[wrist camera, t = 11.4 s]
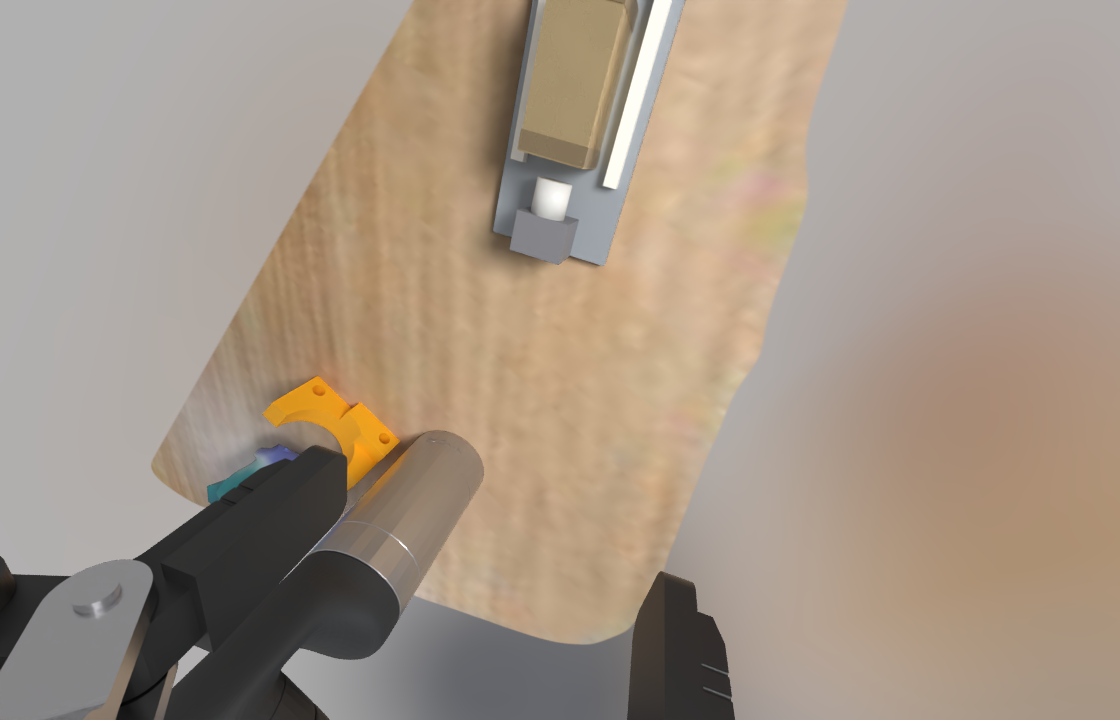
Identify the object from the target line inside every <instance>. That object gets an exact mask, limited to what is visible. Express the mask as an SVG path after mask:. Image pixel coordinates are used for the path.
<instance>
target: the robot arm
mask: <svg viewBox="0 0 1120 720" xmlns="http://www.w3.org/2000/svg"><path fill="white" fill-rule="evenodd" d="M483 476H484V467H483V463H482V460H481V458H480V456H479V454H478V453H477V452H476V450H475V449H474V448H473V447H472V446H471V445H470V444H469V443H468V442H467V441H466V440H464V439H463V438H461V437H459V436H457V435H455V434H453V433H450V432H446V431H438V430H437V431H429V432H427V433H424V434H422V435H421V436H420V437H418V438H417V440H416V441H415V442H414V443H413V444H412V445H411V446H410V447H409V448H408V449H407V450H406V451H405V452H404V453H403V454H402V455H401V456H400V457H399V458H398V459H397V460H396V462H395V463H394V464H393V465H392V466H391V467H390V468H389V469H388V470H387V471H386V472H385V473H384V474H383V475H382V476H381V477H380V479H379V480H378V481H377V482H376V483H375V484H374V485H373V486H372V487H371V488H370V489H369V490H368V491H367V492H366V493H365V494H364V495H363V497H362V498H361V499H360V500H359V501H358V502H357V503H356V504H355V505H354V506H353V507H352V508H351V509H350V510H349V511H348V512H347V514H346V515H345V516H344V517H343V518H342V519H341V520H340V521H339V522H338V523H337V524H336V525H335V526H334V527H333V525H334V524H335V523H336V522H337V521H338V519H339V518H340V516H341V514H342V513H343V510H344V508H345V505H346V502H347V457H346V456H345V455H343V454H340V453H337V452H335V451H332V450H329V449H326V448H324V447H321V446H318V445H315V446H312V447H310V448H308V449H307V450H305V451H304V452H303V453H302V454H300V455H299V456H298V457H296V458H295V459H294V460H289V459H286V458H285V459H282V460H280V461H277V462H275V463H272V464H270V465H267V466H265V467H262V468H260V469H259V470H257V471H256V472H254V473H253V474H252V475H250V476H249V477H248V478H246V479H245V480H243V481H242V482H241V483H239V485H238V487H236V488H235V487H234V488H232V489H231V490H230V491H228V492H227V493H226V494H224V495H223V496H221V498H220V500H219V501H215V502H213V503H212V504H210V505H209V506H208V507H206V508H205V509H204V510H202V511H201V512H199V513H198V514H197V515H195V516H194V517H193V518H191V519H190V520H189V521H187V522H186V523H185V524H183V525H182V526H180V527H179V528H178V529H176V530H175V531H173V532H172V533H171V534H169V535H168V536H167V537H165V538H164V539H163V540H161V541H160V542H158V543H157V544H156V545H154V546H153V547H151V548H150V549H149V550H147V551H146V552H144V553H143V554H142V555H140V556H138V557H136V558H135V559H133V560H115V561H109V562H105V563H101V564H98V565H95V566H92V567H90V568H87V569H85V570H83V571H81V572H79V573H76V574H75V575H73V576H46V575H16V574H11V572H10V570H9V568H8V567H7V565H6V563H5V561H4V559H3V558H2V557H1V556H0V720H329V718H328V717H327V716H326V715H325V714H324V713H323V712H322V711H321V710H320V709H319V708H318V707H317V706H316V705H315V704H314V703H313V702H312V701H311V700H310V699H309V698H308V697H307V696H306V695H305V694H304V693H303V692H302V691H301V690H300V689H299V688H298V687H297V686H296V685H295V684H294V683H293V682H292V681H291V680H290V679H289V678H288V677H287V676H286V675H285V674H284V673H282V671H281V669H282V667H283V666H284V664H285V663H286V662H287V661H288V660H289V659H290V657H291V656H292V655H293V654H294V653H295V652H296V651H297V650H298V649H299V648H303V649H307V650H311V651H314V652H317V653H320V654H323V655H326V656H330V657H333V658H338V659H348V660H353V659H362V658H365V657H368V656H371V655H372V654H374V653H375V652H376V651H377V650H378V649H380V647H381V646H382V645H383V644H384V642H385V641H386V639H387V638H388V636H389V635H390V633H391V631H392V629H393V628H394V626H395V625H396V623H397V621H398V619H399V618H400V616H401V615H402V613H403V611H404V610H405V608H406V606H407V605H408V603H409V601H410V600H411V598H412V596H413V595H414V593H415V592H416V590H417V588H418V586H419V585H420V583H421V581H422V580H423V578H424V576H425V575H426V573H427V571H428V570H429V568H430V566H431V565H432V563H433V561H434V560H435V558H436V557H437V555H438V553H439V552H440V550H441V548H442V547H443V545H444V543H445V542H446V540H447V538H448V537H449V535H450V533H451V532H452V530H453V529H454V527H455V525H456V524H457V522H458V520H459V519H460V517H461V515H462V514H463V512H464V510H465V509H466V507H467V506H468V504H469V502H470V501H471V499H472V497H473V496H474V494H475V492H476V491H477V489H478V487H479V486H480V484H481V482H482V480H483ZM332 527H333V528H332ZM331 528H332V529H331ZM330 529H331V531H330V532H329V533H328V534H327V535H326V536H325V537H324V538H323V539H322V540H321V541H320V542H319V543H318V541H319V540H320V539H321V538H322V537H323V536H324V535H325V534H326V533H327V532H328V531H329V530H330ZM317 543H318V544H317ZM316 544H317V546H316V547H315V548H314V549H313V550H312V551H311V552H310V553H309V554H308V555H307V556H306V557H305V558H304V559H303V560H302V558H303V557H304V556H305V555H306V554H307V553H308V552H309V551H310V550H311V549H312V548H313V547H314V546H315V545H316ZM301 560H302V561H301ZM300 561H301V563H299V562H300ZM298 563H299V565H298V566H297V567H296V568H295V569H294V570H293V571H292V572H291V573H290V574H289V575H288V576H287V577H286V578H285V579H284V577H285V576H286V575H287V574H288V573H289V572H290V571H291V570H292V569H293V568H294V567H295V566H296V565H297V564H298ZM283 579H284V580H283ZM194 645H195V646H197V647H200V648H202V649H204V650H206V651H209V652H210V653H209V654H208V655H207V656H206V657H205V658H204V659H203V660H201V662H199V663H198V664H197V665H196V666H195V667H194V668H193V669H192V670H191V671H190V672H189V673H188V674H187V675H186V676H185V677H184V678H183V679H182V680H181V681H180V682H178V683H177V684H176V685H175V686H174V687H173V683H174V680H175V676H176V673H177V669H178V661H179V660H180V659H181V658H182V657H183V656H184V655H185V654H186V653H187V651H189V650H190V649H191V648H192V646H194ZM728 673H729V672H728V663H727V657H726V648H725V643H724V641H723V639H722V637H721V634H720V632H719V630H718V628H717V626H716V624H715V621H714V619H713V617H711V616H708V615H705V614H703V613H700V612H697V600H696V589H695V585H694V583H692V582H690V581H687V580H685V579H682V578H679V577H676V576H673V575H670V574H668V573H665V572H662V571H660V572H659V573H658V575H657V577H656V579H655V581H654V583H653V585H652V587H651V589H650V590H649V592H648V594H647V596H646V598H645V600H644V602H643V604H642V606H641V608H640V610H639V613H638V615H637V619H636V622H635V627H634V632H633V641H632V657H631V671H630V686H629V702H628V716H627V720H735V717H734V709H733V703H732V702H731V697H732V694H731V686H730V679H729V678H728ZM172 687H173V688H172Z"/></svg>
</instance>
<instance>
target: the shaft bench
mask: <svg viewBox="0 0 1120 720" xmlns="http://www.w3.org/2000/svg"><path fill="white" fill-rule="evenodd" d="M545 3H546V0H533V2H532V8H531V14H530V20H529V25H528V31H527V37H526V43H525V49H524V54H523V60H522V66H521V72H520V77H519V83H518V89H517V95H516V101H515V106H514V112H513V118H512V124H511V130H510V135H509V141H508V147H507V153H506V158H505V164H504V170H503V176H502V182H501V187H500V193H499V199H498V205H497V211H496V216H495V222H494V228H493V232H496V233H499V234H503V235H506V236H509V237H512V239H511V245H510V250H513V251H516V252H519V253H522V254H525V255H528V256H531V257H535V258H538V259H541V260H544V261H547V262H550V263H554V264H557V265H559V264H560V263H562V262H563V261H564V260H565V259H566V258H567V257H569V256H573V257H576V258H579V259H582V260H586V261H589V262H592V263H595V264H598V265H601V266H604V265H605V263H606V260H607V257H608V253H609V250H610V247H611V244H612V240H613V237H614V234H615V230H616V227H617V224H618V221H619V217H620V214H621V211H622V207H623V204H624V201H625V197H626V194H627V191H628V188H629V184H630V181H631V178H632V174H633V171H634V168H635V165H636V161H637V158H638V155H639V151H640V148H641V145H642V142H643V138H644V135H645V132H646V128H647V125H648V122H649V119H650V115H651V112H652V109H653V105H654V102H655V99H656V96H657V92H658V89H659V86H660V82H661V79H662V76H663V73H664V69H665V66H666V63H667V59H668V56H669V53H670V50H671V46H672V43H673V40H674V36H675V33H676V30H677V27H678V23H679V20H680V17H681V13H682V10H683V7H684V4H685V0H637V3H638V8H639V12H638V16H637V19H636V23H635V27H634V31H633V32H632V35H631V39H630V43H629V47H628V50H627V54H626V58H625V62H624V65H623V69H622V73H621V77H620V80H619V84H618V88H617V92H616V95H615V99H614V103H613V107H612V110H611V114H610V118H609V122H608V125H607V129H606V133H605V137H604V140H603V144H602V148H601V154H600V158H599V162H598V166H597V168H596V169H580V168H577V167H574V166H570V165H567V164H563V163H560V162H556V161H553V160H549V159H546V158H543V157H539V156H536V155H532V154H529V153H525V152H522V151H519V150H518V149H517V148H518V142H519V137H520V132H521V129H522V128H523V122H524V117H525V111H526V106H527V100H528V95H529V90H530V84H531V79H532V73H533V68H534V63H535V57H536V52H537V46H538V41H539V35H540V30H541V25H542V19H543V14H544V8H545Z"/></svg>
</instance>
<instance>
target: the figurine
mask: <svg viewBox="0 0 1120 720" xmlns="http://www.w3.org/2000/svg"><path fill="white" fill-rule="evenodd" d="M299 455H300V454H298V453H296V452H293V451H291V450H289V449H288V448H287V447H283V446H281V445H277V446H275V447H273V448H261V449H259V450H257V452H256V453H255V454H254V456H255V457H256V460H255V461H254V462H252V463H251V464H250V465H248V466H246V467H244V468H242V469H240V470H238V471H237V472H236V473H234V474H233V475H232V476H230V477H229V478H227V479H226V480H223V481H220V482H217V483H215V484H212V485H209V486H207V490H208V502H209V503H211V504H212V503H213V502H215V501H219V500H220V498H221V496H223V495H224V494H226V493H227V492H228V491H230V490H231V489H232V488H234V487H235V488H236V487H238V485H239V483H241V482H242V481H243V480H245V479H246V478H248V477H249V476H250V475H252V474H253V473H254V472H256V471H257V470H259V469H260V468H262V467H265V466H267V465H270V464H272V463H275V462H277V461H280V460H282V459H285V458H286V459H289V460H294V459H295V458H296V457H298V456H299Z"/></svg>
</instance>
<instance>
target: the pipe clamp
mask: <svg viewBox="0 0 1120 720" xmlns="http://www.w3.org/2000/svg"><path fill="white" fill-rule="evenodd" d="M262 415H263V416H265V417H266V418H267V419H268V420H269V421H270V422H271V423H272V424H273V425H274V426H275V427H278V426H280V425H282V424H285V423H288V422H292V421H307V422H312V423H315V424H318V425H320V426H322V427H324V428H326V429H327V430H329V431H330V432H331V433H332V434H333V435H334V436H335V437H336V439H337V440H338V442H339V443H340V445H341V448H342V452H343V455H345V456H346V457H347V491H348V490H349V489H351V488H352V487H353V486H354V485H355V484H357V483H358V482H359V481H360V480H361V479H362V478H363V477H364V476H365V475H366V474H367V473H368V472H369V471H370V470H371V469H372V468H373V467H374V466H375V465H376V464H377V463H378V462H379V461H380V460H382V459H383V458H384V457H385V456H386V455H387V454H388V453H389V452H390V451H391V450H392V449H393V448H394V447H395V446H396V445H397V444H398V443H399V442H400V441H399V440H398V439H397V438H396V437H395V436H394V435H393V434H392V433H391V432H390V431H389V430H388V429H387V428H386V427H385V426H384V425H383V424H382V423H381V422H380V421H379V420H378V419H377V418H376V417H375V416H374V415H373V414H372V413H371V412H370V411H369V410H368V409H367V408H366V407H365V406H364V405H363V404H362V403H361V402H360V403H359V404H358V405H356V406H355V407H354V408H351V407H350V406H349V405H347V404H346V403H345V402H344V401H343V400H342V399H341V398H340V397H339V396H338V395H337V394H336V393H335V392H334V391H333V390H332V389H331V388H330V387H329V386H328V385H327V384H326V383H325V382H324V381H323V380H322V379H321V378H320V377H319V376H317V377H315V378H313V379H312V380H310V381H308V382H306V383H305V384H303V385H301V386H300V387H298V388H296V389H294V390H293V391H291V392H289V393H288V394H286V395H284V396H282V397H281V398H279V399H277V400H276V401H274V402H272V404H271V405H270V406H269V407H268V408H267V410H266V411H265V412H264V413H263V414H262Z"/></svg>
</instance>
